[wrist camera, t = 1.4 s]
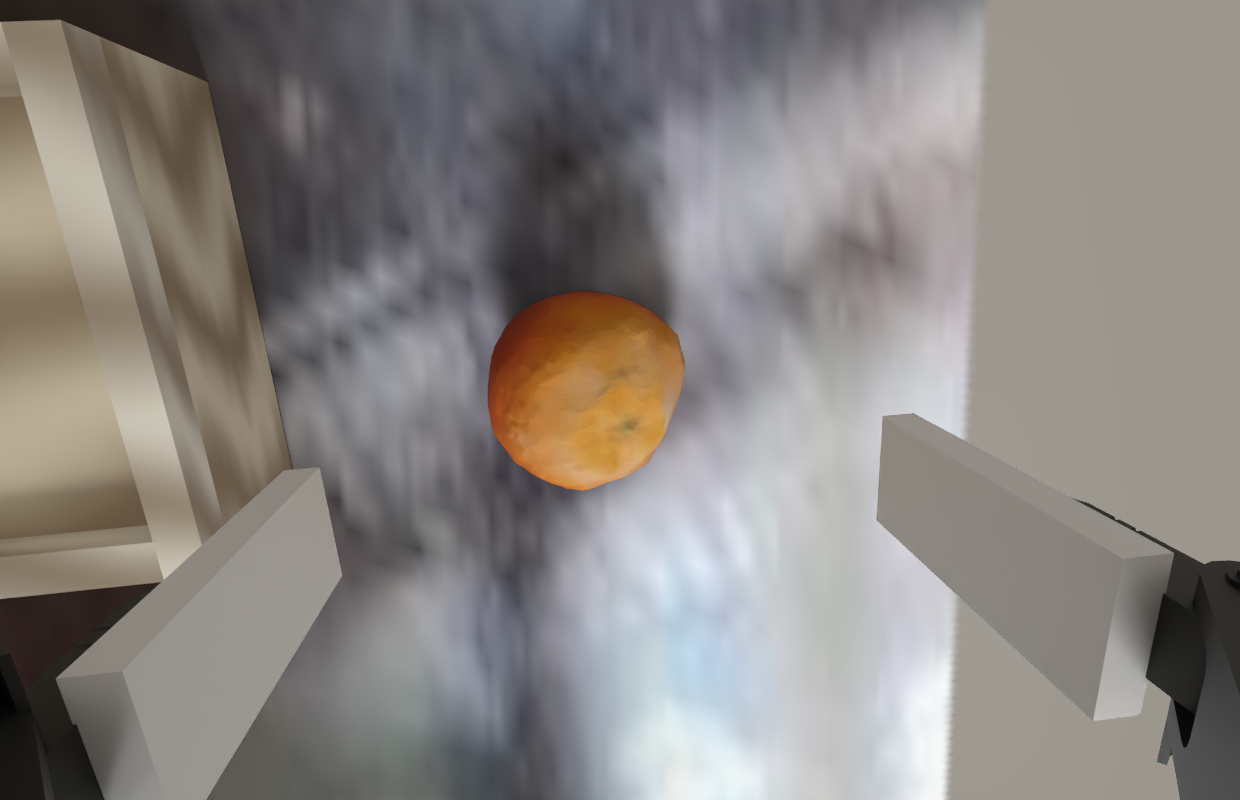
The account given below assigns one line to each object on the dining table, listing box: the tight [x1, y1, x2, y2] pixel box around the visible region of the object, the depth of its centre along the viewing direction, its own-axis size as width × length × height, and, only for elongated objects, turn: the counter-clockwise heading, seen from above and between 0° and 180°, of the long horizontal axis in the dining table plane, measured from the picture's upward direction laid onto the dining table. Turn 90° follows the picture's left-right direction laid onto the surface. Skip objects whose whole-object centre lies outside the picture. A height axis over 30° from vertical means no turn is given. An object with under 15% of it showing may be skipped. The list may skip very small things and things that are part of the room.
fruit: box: [488, 291, 685, 490], centre depth 26 cm, size 8×8×8 cm
